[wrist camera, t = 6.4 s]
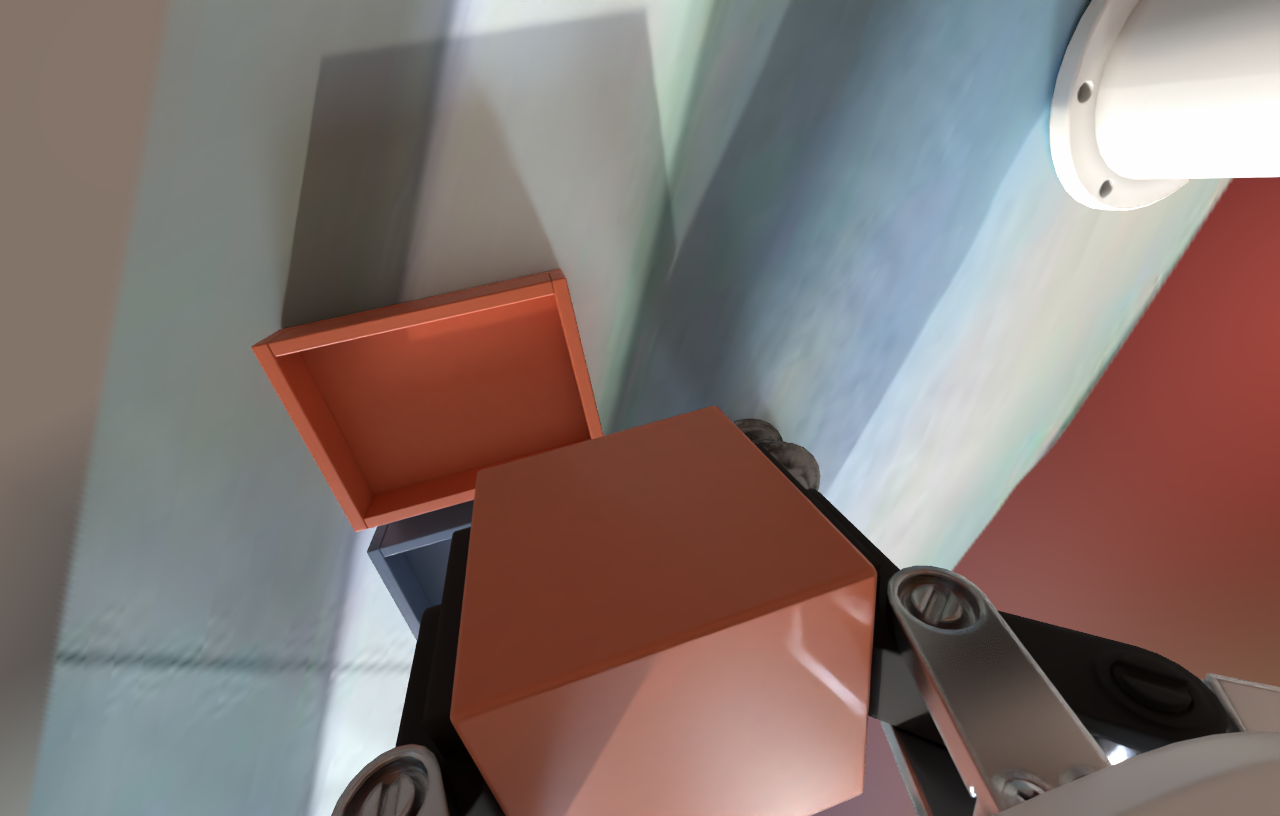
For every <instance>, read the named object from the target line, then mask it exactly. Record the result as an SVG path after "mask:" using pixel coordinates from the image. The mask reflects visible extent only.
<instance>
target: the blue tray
mask: <svg viewBox="0 0 1280 816" xmlns="http://www.w3.org/2000/svg"><path fill="white" fill-rule="evenodd" d="M473 505H474V500H470V501H467V502H463V503H460V504H456V505H452V506H449V507H445V508H441V509H438V510H434V511H431V512H427V513H423V514H420V515H416V516H413V517H409V518H405V519H402V520H398V521H394V522H391V523H387V524H384V525H380V526H378V527H377V529H376V531H375V534H374V536H373V538H372V541H371V543H370V546H369V548H368V551H367V553H368V555H369V557H370V559H371V560H372V562H373V564H374V566H375V567H376V569H377V571H378V573H379V574H380V576H381V578H382V580H383V582H384V583H385V585H386V587H387V589H388V590H389V592H390V594H391V596H392V598H393V599H394V601H395V603H396V605H397V606H398V608H399V610H400V612H401V613H402V615H403V617H404V619H405V621H406V622H407V624H408V626H409V628H410V629H411V631H412V633H413V635H414V636H415V638H416V640H417V639H418V634H419V629H420V624H421V619H422V616H423V613H424V611H425V610H426V609H427V608H429V607H432V606H436V605H439V604H441V602H442V596H443V590H444V583H445V577H446V571H447V565H448V559H449V553H450V546H451V540H452V535H453V532H455V531H457V530H461V529H464V528H468V527H471V523H472V514H473Z"/></svg>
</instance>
